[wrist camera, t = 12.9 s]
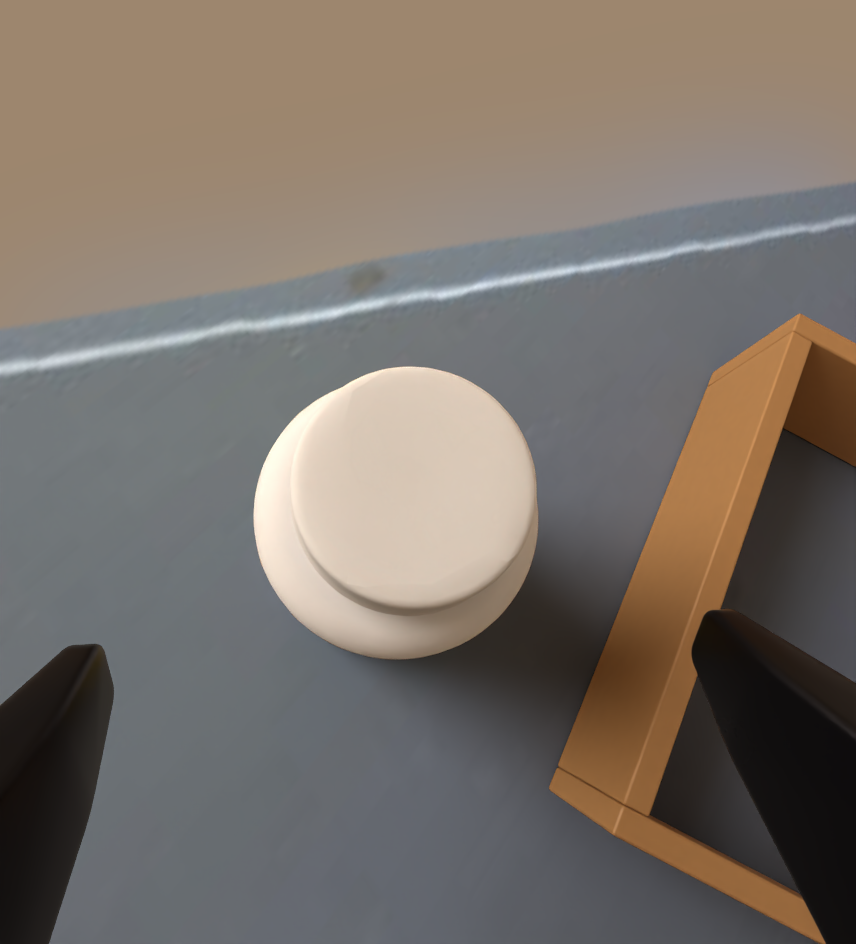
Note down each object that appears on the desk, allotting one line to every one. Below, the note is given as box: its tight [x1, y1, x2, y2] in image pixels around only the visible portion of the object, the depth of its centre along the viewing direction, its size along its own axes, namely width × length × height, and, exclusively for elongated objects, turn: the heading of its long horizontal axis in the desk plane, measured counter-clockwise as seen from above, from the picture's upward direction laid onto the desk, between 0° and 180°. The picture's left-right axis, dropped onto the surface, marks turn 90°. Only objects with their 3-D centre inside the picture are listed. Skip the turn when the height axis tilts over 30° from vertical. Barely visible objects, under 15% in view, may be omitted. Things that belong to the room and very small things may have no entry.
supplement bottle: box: [254, 367, 538, 659], centre depth 15 cm, size 6×6×10 cm
